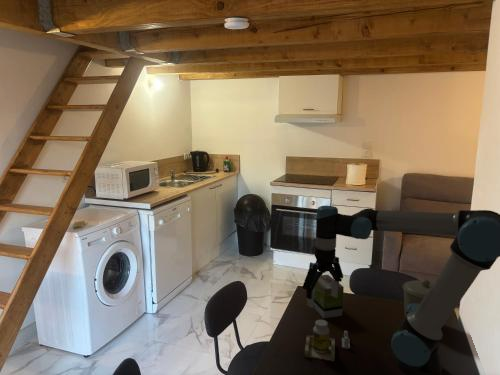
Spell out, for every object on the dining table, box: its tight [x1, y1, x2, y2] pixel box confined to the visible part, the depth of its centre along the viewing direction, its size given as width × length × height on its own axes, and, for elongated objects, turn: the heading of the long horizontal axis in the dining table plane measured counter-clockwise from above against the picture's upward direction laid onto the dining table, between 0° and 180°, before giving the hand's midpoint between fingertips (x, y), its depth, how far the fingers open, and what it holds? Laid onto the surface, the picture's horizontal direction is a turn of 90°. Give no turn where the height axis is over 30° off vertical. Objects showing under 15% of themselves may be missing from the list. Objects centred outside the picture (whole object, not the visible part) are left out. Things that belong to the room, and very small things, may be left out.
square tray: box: [304, 334, 336, 362], centre depth 145 cm, size 11×11×3 cm
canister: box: [401, 278, 434, 318], centre depth 165 cm, size 18×18×21 cm
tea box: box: [310, 274, 345, 319], centre depth 177 cm, size 15×10×15 cm
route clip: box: [341, 330, 351, 350], centre depth 150 cm, size 3×6×4 cm, turn 168°
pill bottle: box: [312, 319, 330, 353], centre depth 145 cm, size 6×6×11 cm
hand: (322, 301), depth 142 cm, fingers open, 13 cm apart
